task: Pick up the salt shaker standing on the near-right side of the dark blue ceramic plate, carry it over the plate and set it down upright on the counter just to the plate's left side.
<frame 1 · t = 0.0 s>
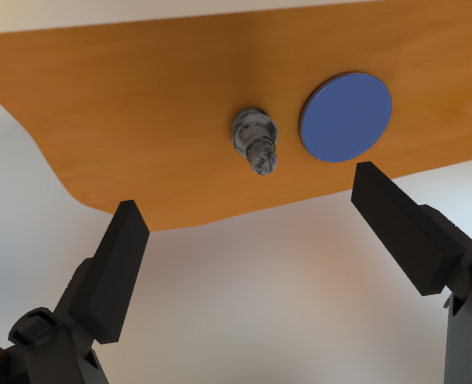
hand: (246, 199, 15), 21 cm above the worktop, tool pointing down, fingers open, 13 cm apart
plate: (341, 118, 34), on the worktop
salt shaker: (251, 126, 34), on the worktop
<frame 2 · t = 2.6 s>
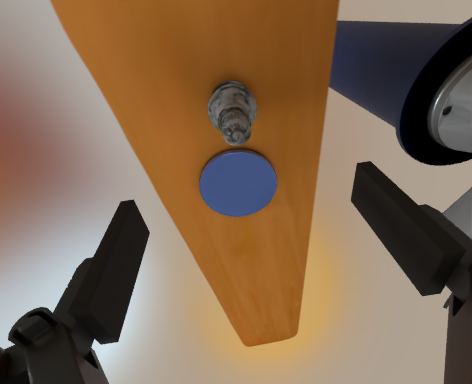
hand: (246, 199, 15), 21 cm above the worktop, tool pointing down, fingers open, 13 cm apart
plate: (237, 182, 39), on the worktop
salt shaker: (230, 101, 32), on the worktop
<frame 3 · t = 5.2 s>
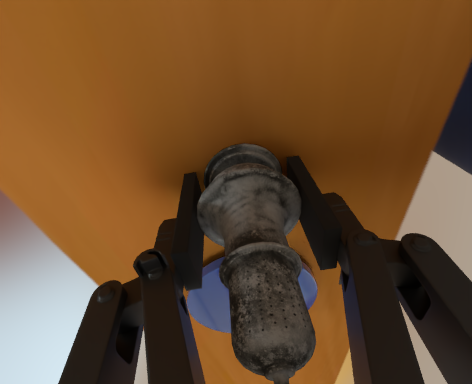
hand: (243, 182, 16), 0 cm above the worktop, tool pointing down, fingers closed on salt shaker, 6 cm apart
plate: (250, 287, 24), on the worktop
salt shaker: (243, 178, 17), on the worktop, touching gripper
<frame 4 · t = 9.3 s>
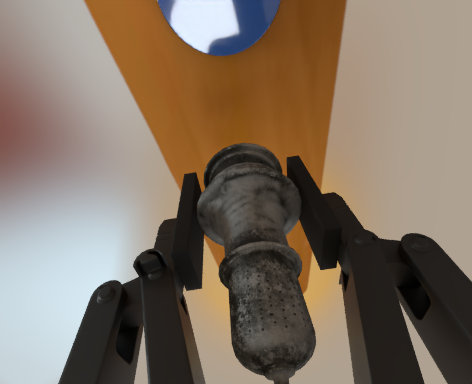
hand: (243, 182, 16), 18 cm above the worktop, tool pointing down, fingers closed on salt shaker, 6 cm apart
salt shaker: (242, 178, 17), point 17 cm above the worktop, touching gripper
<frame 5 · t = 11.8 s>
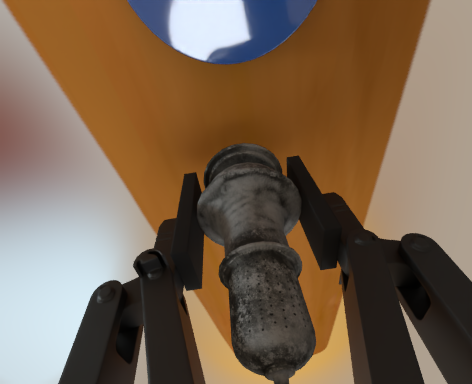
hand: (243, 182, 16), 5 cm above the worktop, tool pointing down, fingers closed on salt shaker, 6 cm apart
salt shaker: (242, 178, 17), point 5 cm above the worktop, touching gripper
when the fingers open (0 cm above the worktop, at t = 13.4 s): salt shaker stays where it is, on the worktop.
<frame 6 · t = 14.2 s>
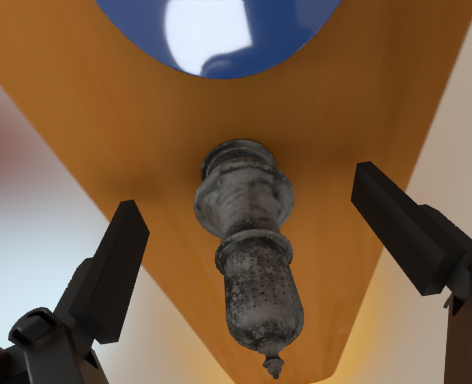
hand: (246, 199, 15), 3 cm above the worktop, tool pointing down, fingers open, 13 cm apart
salt shaker: (238, 173, 17), on the worktop
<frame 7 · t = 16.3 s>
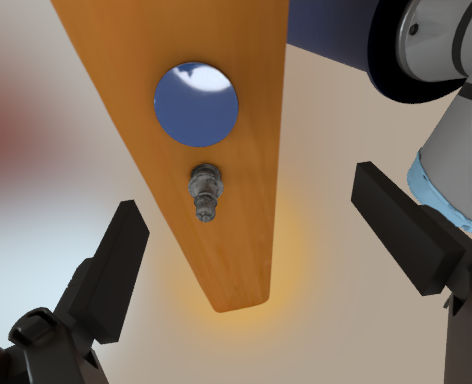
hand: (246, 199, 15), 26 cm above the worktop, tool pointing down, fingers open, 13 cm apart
plate: (197, 105, 37), on the worktop
salt shaker: (206, 176, 44), on the worktop
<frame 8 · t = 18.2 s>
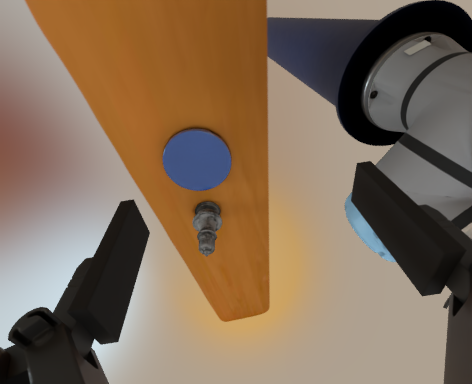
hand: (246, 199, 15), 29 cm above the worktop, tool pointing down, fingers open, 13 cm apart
plate: (197, 159, 45), on the worktop
salt shaker: (207, 210, 52), on the worktop
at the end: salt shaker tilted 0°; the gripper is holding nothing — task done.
